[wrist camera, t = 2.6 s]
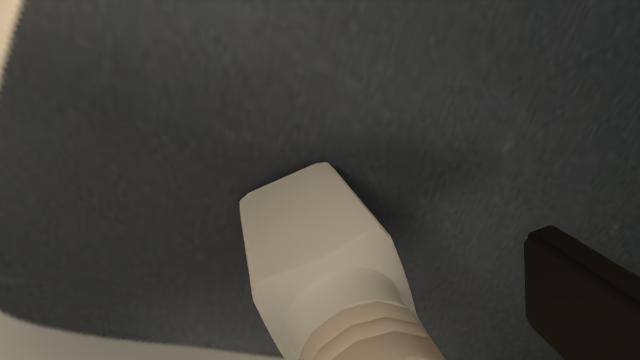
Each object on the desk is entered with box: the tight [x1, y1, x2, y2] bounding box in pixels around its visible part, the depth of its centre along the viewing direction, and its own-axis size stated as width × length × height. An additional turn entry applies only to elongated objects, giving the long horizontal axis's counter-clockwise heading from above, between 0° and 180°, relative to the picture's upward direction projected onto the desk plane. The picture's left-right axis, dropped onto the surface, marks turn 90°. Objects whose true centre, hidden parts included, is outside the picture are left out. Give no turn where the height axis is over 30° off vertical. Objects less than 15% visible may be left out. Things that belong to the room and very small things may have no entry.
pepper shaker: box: [239, 162, 446, 360], centre depth 12 cm, size 4×4×10 cm
